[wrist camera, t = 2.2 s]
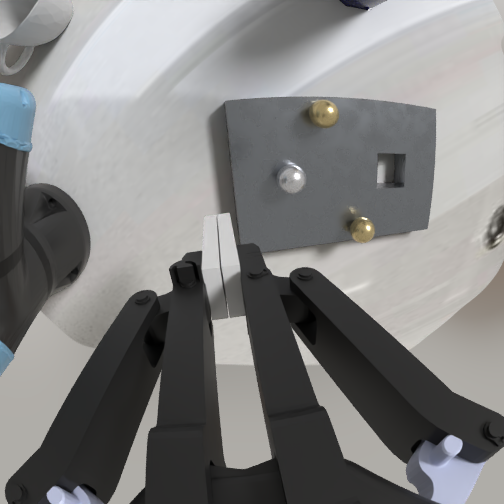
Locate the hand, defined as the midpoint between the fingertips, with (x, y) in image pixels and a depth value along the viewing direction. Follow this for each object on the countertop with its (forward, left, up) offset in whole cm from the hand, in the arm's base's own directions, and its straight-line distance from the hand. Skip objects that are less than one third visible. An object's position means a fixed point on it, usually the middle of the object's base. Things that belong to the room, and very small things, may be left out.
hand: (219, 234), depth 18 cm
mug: (-20, +25, -17) cm, 36 cm away
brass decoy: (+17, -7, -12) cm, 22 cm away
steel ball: (+8, 0, -12) cm, 15 cm away
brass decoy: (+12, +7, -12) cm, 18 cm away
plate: (+16, 0, -16) cm, 23 cm away
